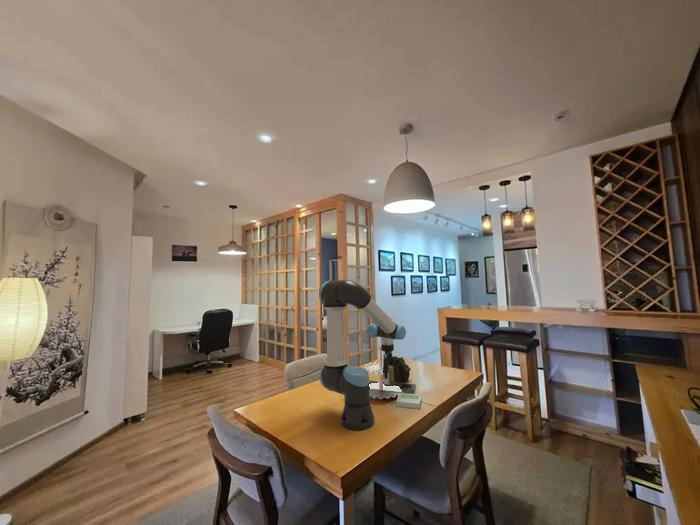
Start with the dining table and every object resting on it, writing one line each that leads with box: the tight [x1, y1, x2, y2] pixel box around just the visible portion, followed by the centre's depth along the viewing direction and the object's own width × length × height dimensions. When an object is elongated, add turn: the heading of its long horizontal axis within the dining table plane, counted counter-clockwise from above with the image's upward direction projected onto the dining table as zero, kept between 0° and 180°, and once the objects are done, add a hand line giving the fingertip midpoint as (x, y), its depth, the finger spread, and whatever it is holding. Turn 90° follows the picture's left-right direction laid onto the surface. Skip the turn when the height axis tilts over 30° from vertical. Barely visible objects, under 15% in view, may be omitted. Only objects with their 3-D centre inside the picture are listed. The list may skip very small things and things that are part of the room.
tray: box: [395, 393, 423, 410], centre depth 147 cm, size 12×12×3 cm
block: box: [382, 368, 394, 386], centre depth 169 cm, size 6×6×11 cm
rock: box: [392, 355, 411, 383], centre depth 183 cm, size 12×9×15 cm
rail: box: [369, 379, 417, 394], centre depth 169 cm, size 10×30×2 cm, turn 71°
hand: (388, 380), depth 169 cm, fingers open, 13 cm apart
